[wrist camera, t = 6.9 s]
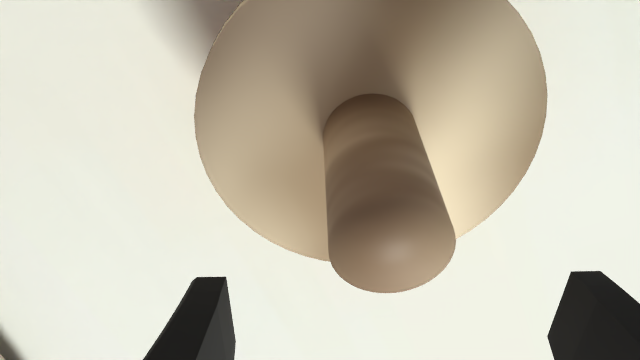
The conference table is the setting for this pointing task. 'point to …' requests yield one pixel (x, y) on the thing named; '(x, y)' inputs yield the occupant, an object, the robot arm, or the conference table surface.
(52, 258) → the conference table surface
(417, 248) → the lid
